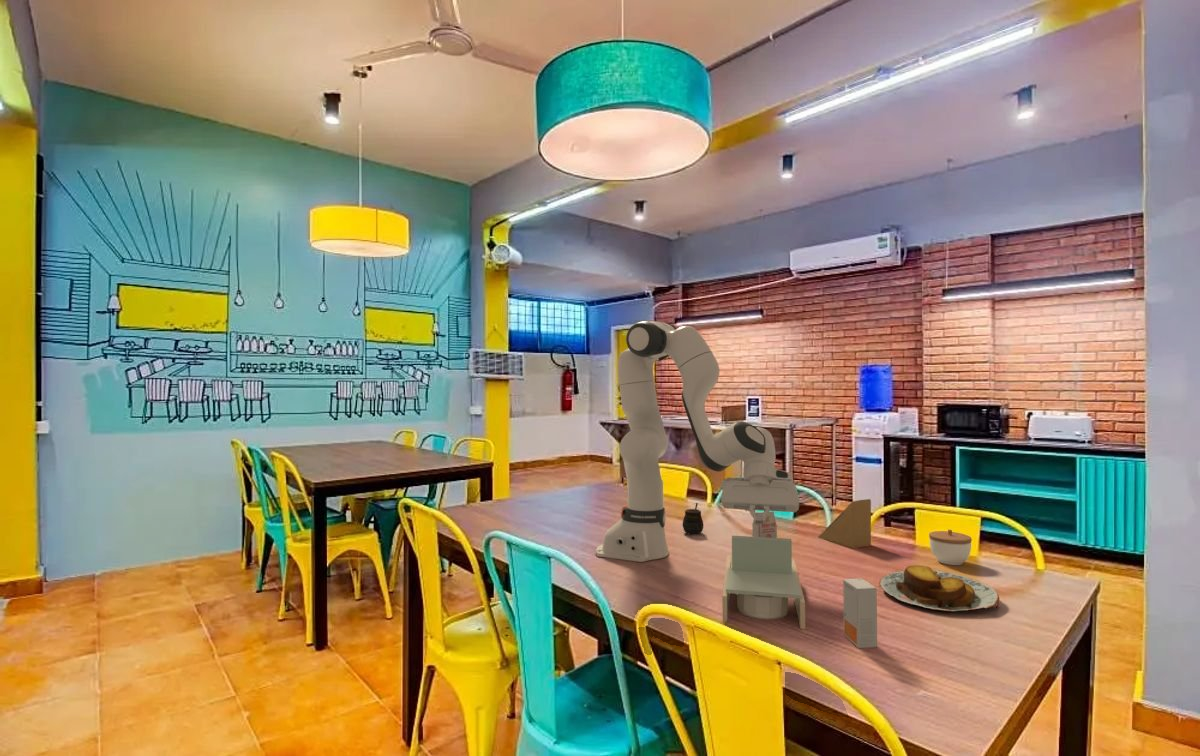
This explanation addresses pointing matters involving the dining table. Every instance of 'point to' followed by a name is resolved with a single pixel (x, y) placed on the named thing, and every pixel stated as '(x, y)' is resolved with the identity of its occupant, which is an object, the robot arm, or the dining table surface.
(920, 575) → the food on plate
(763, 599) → the bowl stand
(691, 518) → the mate gourd
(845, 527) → the sandwich container
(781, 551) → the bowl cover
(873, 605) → the skincare box
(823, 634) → the dining table surface
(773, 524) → the tea bag
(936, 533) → the lidded jar
